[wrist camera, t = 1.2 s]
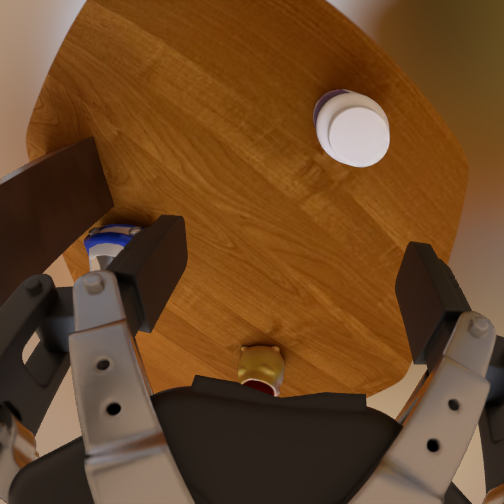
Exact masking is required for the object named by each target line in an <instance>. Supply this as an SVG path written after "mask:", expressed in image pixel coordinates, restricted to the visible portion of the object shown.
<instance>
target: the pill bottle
mask: <svg viewBox="0 0 504 504" xmlns="http://www.w3.org/2000/svg"><path fill="white" fill-rule="evenodd" d="M313 120H314V125H315V128H316V133H317V136H318V139H319V142H320V144H321V146H322V147H323V149H324V150H325V151H326V152H327V154H328V155H330V156H331V157H332V158H333V159H335V160H337V161H339V162H341V163H344V164H348V165H351V166H354V167H366V166H370V165H373V164H375V163H376V162H378V161H379V160H380V159H381V158H382V157H383V156H384V155H385V153H386V151H387V149H388V146H389V142H390V134H389V123H388V119H387V117H386V115H385V113H384V111H383V110H382V108H381V107H380V106H379V105H378V104H377V103H376V102H375V101H374V100H372V99H370V98H369V97H367V96H365V95H362V94H359V93H356V92H353V91H350V90H345V89H338V90H333V91H330V92H328V93H326V94H324V95H323V96H322V97H321V98H320V99H319V100H318V102H317V103H316V105H315V108H314V113H313Z"/></svg>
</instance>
